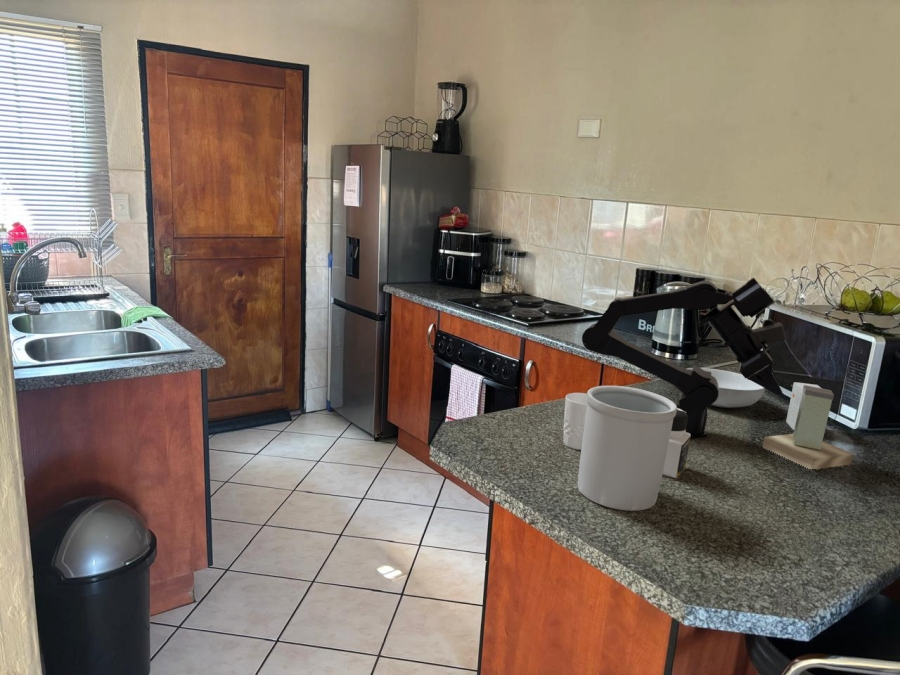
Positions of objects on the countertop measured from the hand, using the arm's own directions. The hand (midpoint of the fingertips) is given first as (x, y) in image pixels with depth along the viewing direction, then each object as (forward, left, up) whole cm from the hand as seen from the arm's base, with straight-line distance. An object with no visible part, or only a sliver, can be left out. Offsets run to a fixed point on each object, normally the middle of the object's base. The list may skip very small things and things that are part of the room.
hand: (778, 388), depth 140 cm
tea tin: (+5, -5, -11) cm, 13 cm away
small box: (+20, +8, -14) cm, 26 cm away
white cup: (-42, +11, -14) cm, 45 cm away
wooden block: (+5, -5, -14) cm, 16 cm away
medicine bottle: (-32, -3, -14) cm, 35 cm away
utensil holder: (-48, -10, -14) cm, 51 cm away
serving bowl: (+14, +29, -14) cm, 35 cm away
